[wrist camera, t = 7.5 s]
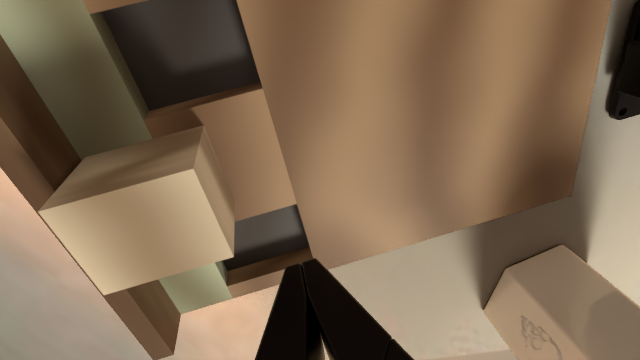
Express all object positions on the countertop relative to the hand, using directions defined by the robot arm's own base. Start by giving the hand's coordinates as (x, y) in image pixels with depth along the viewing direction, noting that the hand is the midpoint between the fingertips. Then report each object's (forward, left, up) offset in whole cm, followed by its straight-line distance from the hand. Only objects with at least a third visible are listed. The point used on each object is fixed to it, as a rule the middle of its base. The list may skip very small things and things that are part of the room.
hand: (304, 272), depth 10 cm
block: (+5, 0, -8) cm, 9 cm away
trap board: (-4, 0, -9) cm, 10 cm away
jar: (-16, +18, -10) cm, 26 cm away
